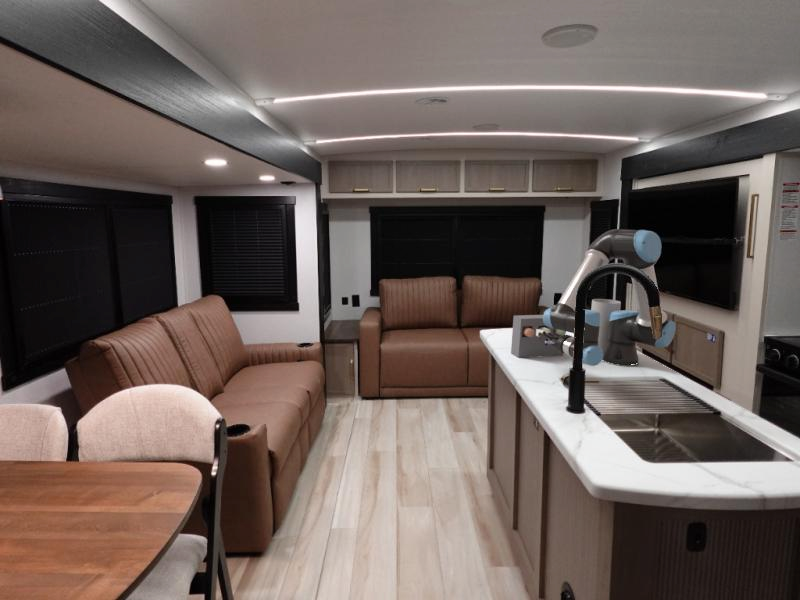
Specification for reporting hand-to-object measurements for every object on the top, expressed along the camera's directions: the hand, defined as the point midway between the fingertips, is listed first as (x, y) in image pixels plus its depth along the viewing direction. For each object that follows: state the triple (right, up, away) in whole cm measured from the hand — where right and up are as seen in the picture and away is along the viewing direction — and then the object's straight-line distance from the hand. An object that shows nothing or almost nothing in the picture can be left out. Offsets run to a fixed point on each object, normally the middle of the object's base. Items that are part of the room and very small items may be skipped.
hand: (537, 332), depth 212 cm
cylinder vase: (+37, -12, +23) cm, 45 cm away
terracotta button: (-2, -2, +8) cm, 9 cm away
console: (+4, -11, +16) cm, 21 cm away
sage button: (+13, -2, +13) cm, 19 cm away
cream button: (+6, -2, +10) cm, 12 cm away
